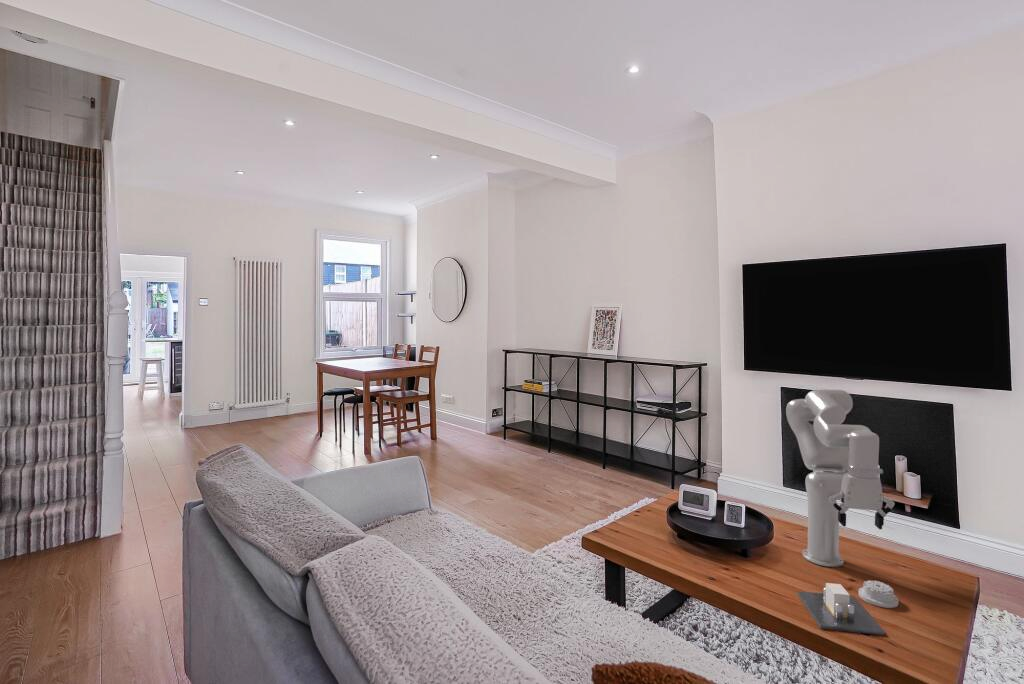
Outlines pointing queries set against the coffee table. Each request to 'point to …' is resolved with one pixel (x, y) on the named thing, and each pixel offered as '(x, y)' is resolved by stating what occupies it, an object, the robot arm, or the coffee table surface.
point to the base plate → (836, 623)
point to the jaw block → (837, 597)
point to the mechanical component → (878, 594)
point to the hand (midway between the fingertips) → (860, 525)
